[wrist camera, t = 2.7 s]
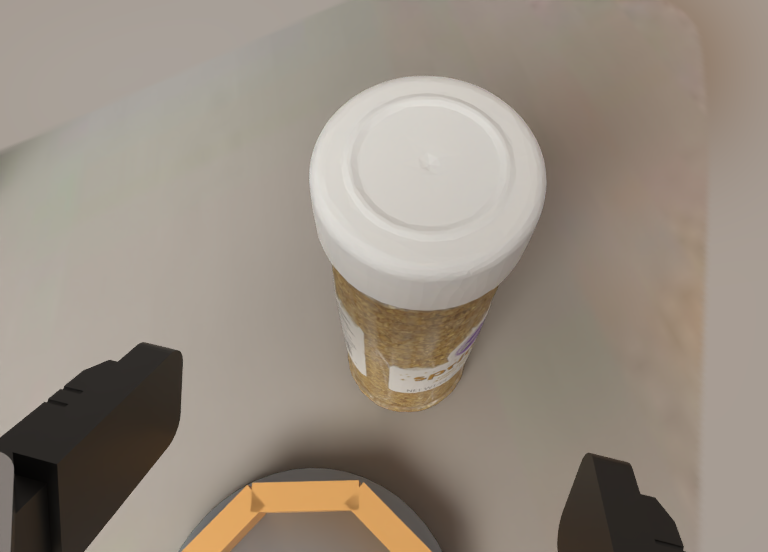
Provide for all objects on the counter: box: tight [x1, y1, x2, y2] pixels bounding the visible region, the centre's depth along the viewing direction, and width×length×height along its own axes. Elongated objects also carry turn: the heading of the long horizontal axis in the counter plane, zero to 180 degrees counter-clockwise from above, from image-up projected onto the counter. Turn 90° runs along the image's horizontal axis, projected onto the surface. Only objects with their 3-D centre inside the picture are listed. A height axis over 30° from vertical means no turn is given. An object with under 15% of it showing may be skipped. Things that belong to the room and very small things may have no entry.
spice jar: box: [309, 76, 547, 412], centre depth 17 cm, size 5×5×13 cm
